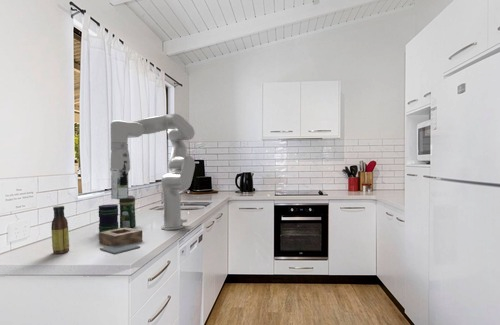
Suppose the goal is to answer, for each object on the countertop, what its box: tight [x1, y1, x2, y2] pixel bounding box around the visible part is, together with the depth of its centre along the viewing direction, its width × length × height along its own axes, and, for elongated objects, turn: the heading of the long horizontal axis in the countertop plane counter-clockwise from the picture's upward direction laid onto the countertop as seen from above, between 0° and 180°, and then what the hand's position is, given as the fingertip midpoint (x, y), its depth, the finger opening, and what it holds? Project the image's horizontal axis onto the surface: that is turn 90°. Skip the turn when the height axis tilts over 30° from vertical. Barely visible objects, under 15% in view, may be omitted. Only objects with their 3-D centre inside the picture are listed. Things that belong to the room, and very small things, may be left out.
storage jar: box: [98, 203, 120, 233], centre depth 174 cm, size 10×10×15 cm
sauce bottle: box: [51, 205, 70, 255], centre depth 137 cm, size 7×6×20 cm
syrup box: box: [110, 168, 129, 200], centre depth 151 cm, size 6×6×14 cm
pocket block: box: [98, 227, 143, 246], centre depth 154 cm, size 14×14×5 cm
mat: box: [99, 243, 141, 255], centre depth 141 cm, size 12×12×1 cm
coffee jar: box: [118, 195, 137, 229], centre depth 189 cm, size 10×8×19 cm
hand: (119, 184), depth 151 cm, fingers closed on syrup box, 5 cm apart
